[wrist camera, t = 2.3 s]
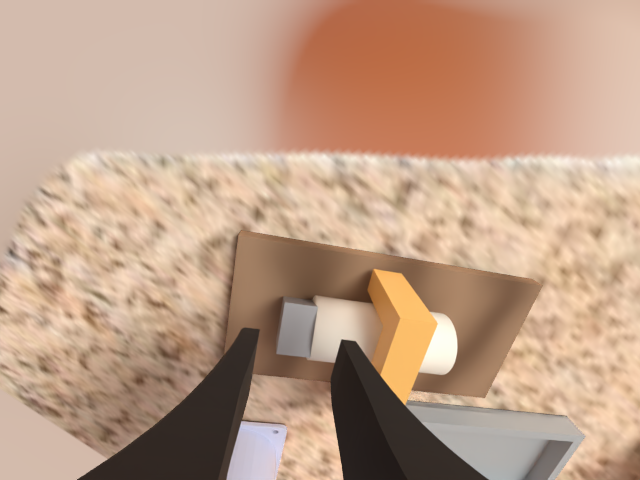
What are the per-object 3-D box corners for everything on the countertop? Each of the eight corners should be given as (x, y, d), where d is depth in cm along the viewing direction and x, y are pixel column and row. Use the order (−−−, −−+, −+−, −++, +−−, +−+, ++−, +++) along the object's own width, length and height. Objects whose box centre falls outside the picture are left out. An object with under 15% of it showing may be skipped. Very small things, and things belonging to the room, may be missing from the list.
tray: (375, 472, 29) (380, 495, 27) (404, 400, 26) (412, 421, 24) (523, 481, 31) (537, 503, 30) (566, 416, 28) (585, 436, 26)
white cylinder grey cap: (274, 345, 21) (274, 365, 17) (284, 288, 21) (286, 294, 17) (421, 362, 22) (453, 385, 18) (428, 309, 22) (460, 319, 19)
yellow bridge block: (340, 381, 23) (352, 455, 18) (373, 268, 20) (400, 318, 14) (365, 384, 23) (384, 457, 18) (401, 273, 20) (437, 323, 15)
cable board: (225, 361, 23) (221, 370, 22) (241, 230, 20) (238, 235, 19) (478, 388, 26) (484, 397, 25) (532, 279, 23) (542, 285, 22)
